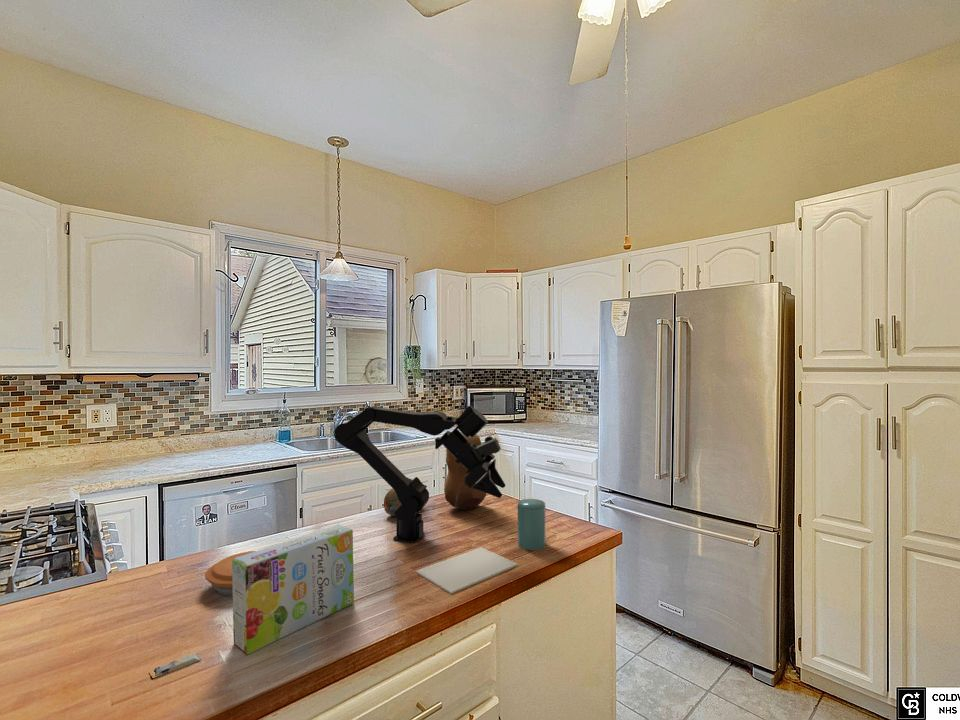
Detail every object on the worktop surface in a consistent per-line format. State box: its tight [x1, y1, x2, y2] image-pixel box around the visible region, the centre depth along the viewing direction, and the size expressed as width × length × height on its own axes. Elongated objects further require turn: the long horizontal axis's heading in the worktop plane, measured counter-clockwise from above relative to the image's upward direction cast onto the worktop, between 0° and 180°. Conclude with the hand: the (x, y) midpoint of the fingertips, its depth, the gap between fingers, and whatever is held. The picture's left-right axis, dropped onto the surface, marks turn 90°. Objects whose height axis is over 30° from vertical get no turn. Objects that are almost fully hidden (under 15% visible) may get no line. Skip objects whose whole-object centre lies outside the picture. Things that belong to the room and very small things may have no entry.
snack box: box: [232, 524, 355, 655], centre depth 87 cm, size 21×6×15 cm, turn 141°
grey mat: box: [415, 546, 519, 595], centre depth 109 cm, size 20×13×1 cm, turn 132°
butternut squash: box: [443, 433, 487, 511], centre depth 152 cm, size 14×13×25 cm
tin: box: [383, 488, 402, 517], centre depth 149 cm, size 15×3×8 cm, turn 143°
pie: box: [204, 550, 256, 597], centre depth 102 cm, size 15×16×5 cm
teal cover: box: [517, 498, 546, 551], centre depth 123 cm, size 7×7×11 cm
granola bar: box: [153, 653, 202, 676], centre depth 74 cm, size 7×2×1 cm, turn 133°
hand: (502, 491), depth 124 cm, fingers open, 9 cm apart
